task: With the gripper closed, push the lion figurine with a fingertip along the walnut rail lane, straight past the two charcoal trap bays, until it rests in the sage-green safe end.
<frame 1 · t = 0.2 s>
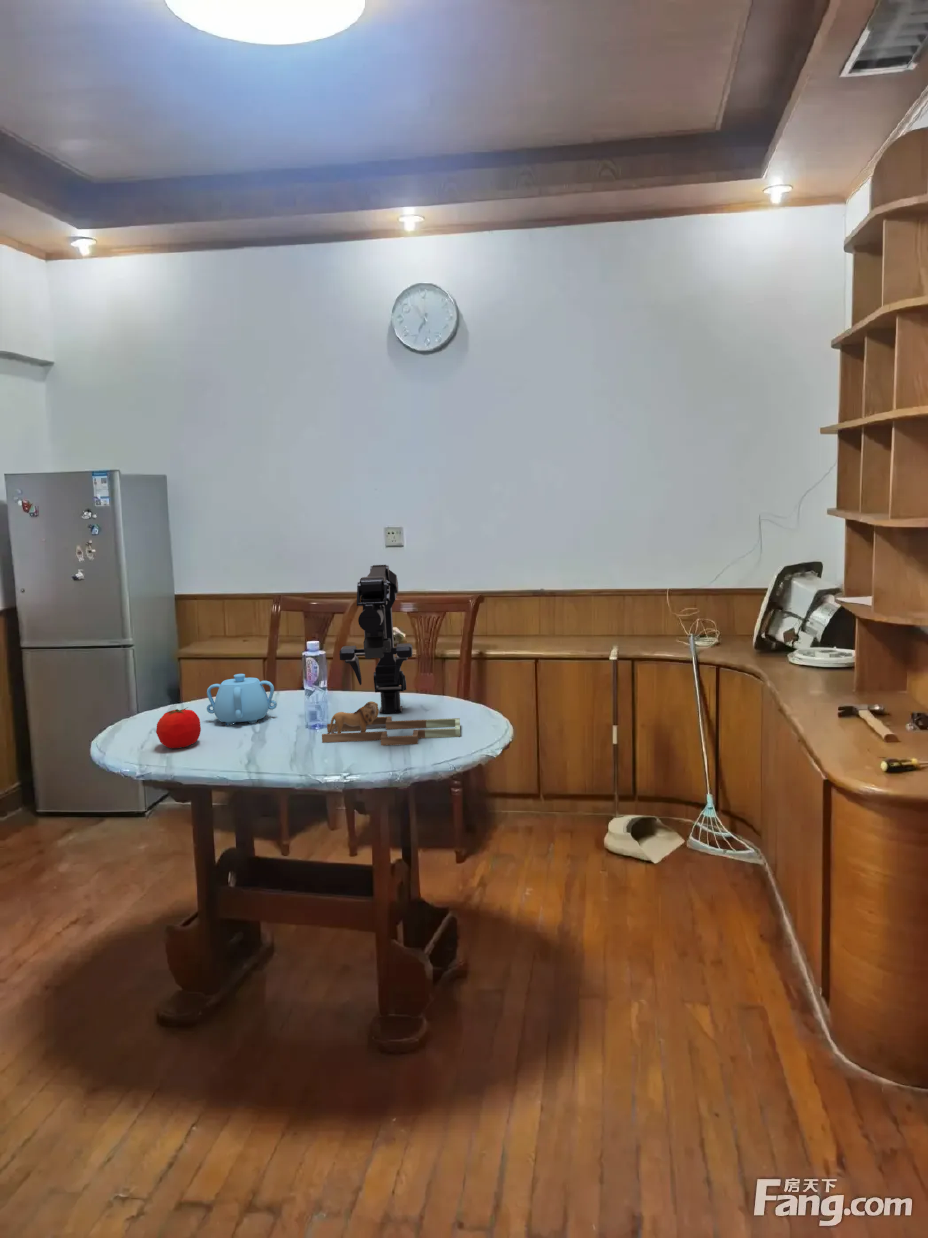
hand: (378, 684, 245), 14 cm above the table, fingers open, 9 cm apart
tomato: (180, 746, 247), on the table
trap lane: (384, 734, 250), on the table
lion figurine: (354, 736, 250), on the table
decorative pot: (242, 720, 272), on the table
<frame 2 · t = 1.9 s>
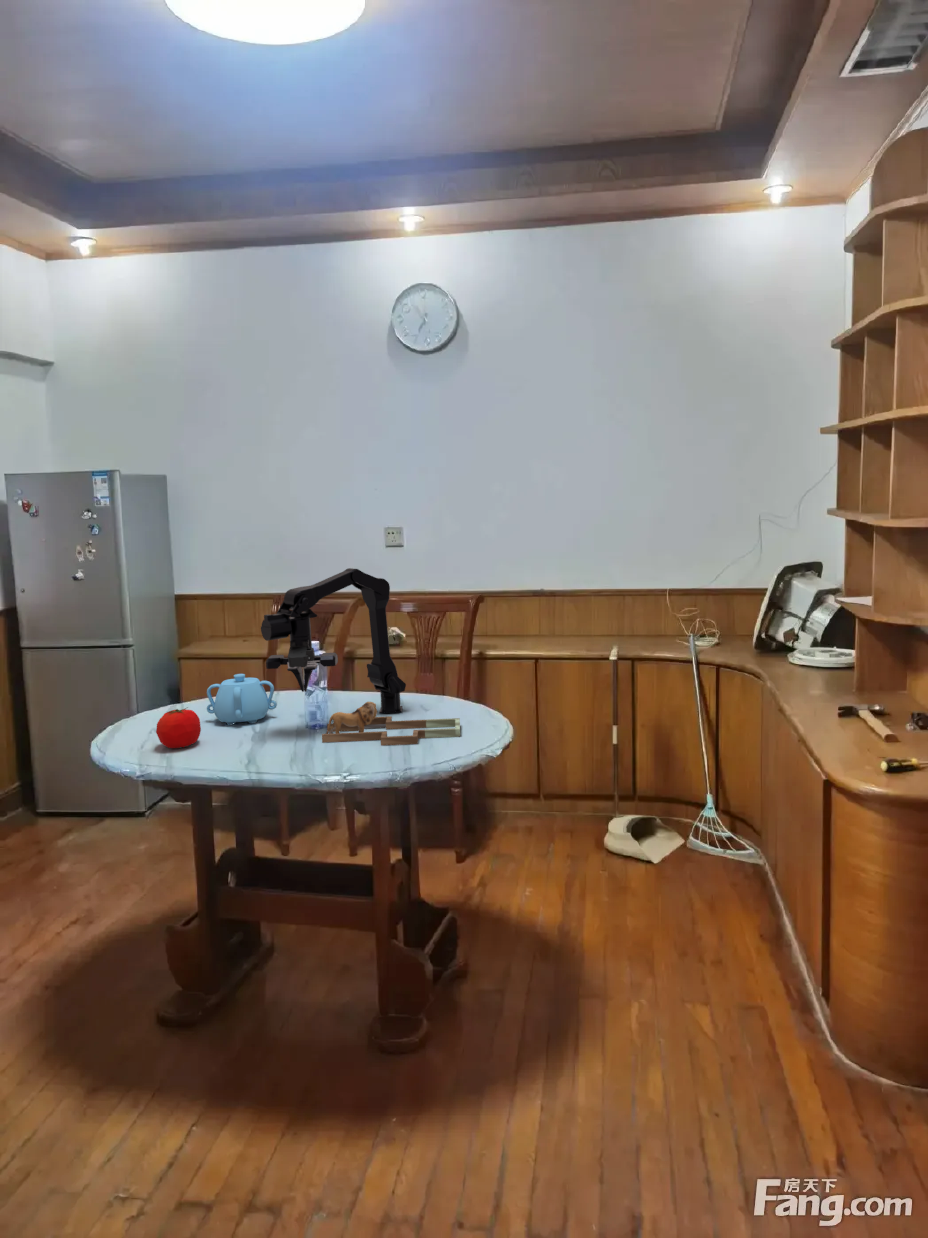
hand: (304, 691, 255), 11 cm above the table, fingers closed
nothing on the table moved.
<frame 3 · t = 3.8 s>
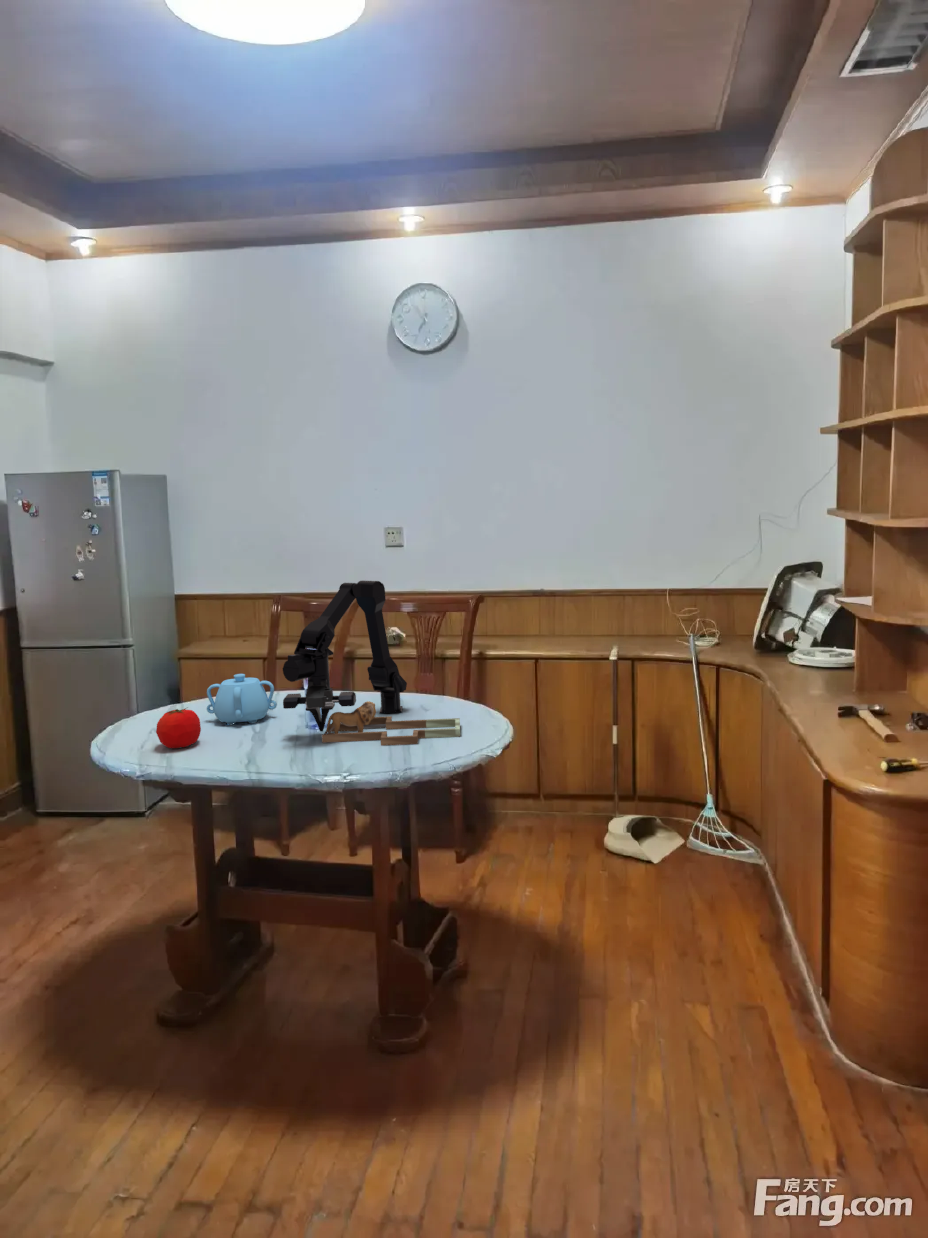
hand: (321, 731, 250), 1 cm above the table, fingers closed
lion figurine: (351, 736, 250), on the table, touching gripper
everything else where it was.
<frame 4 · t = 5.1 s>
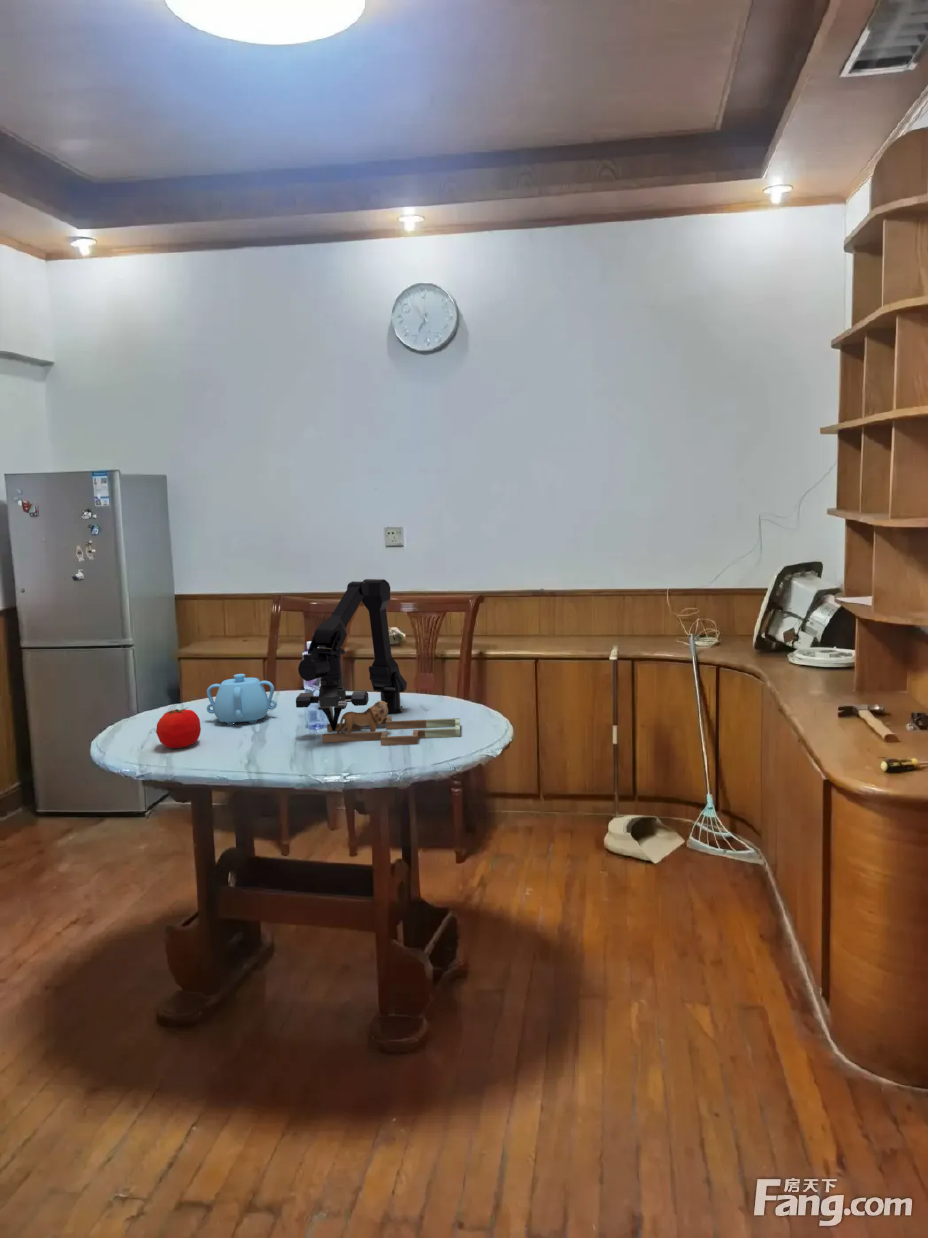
hand: (334, 730, 250), 2 cm above the table, fingers closed
lion figurine: (363, 735, 250), on the table, touching gripper
everything else where it was.
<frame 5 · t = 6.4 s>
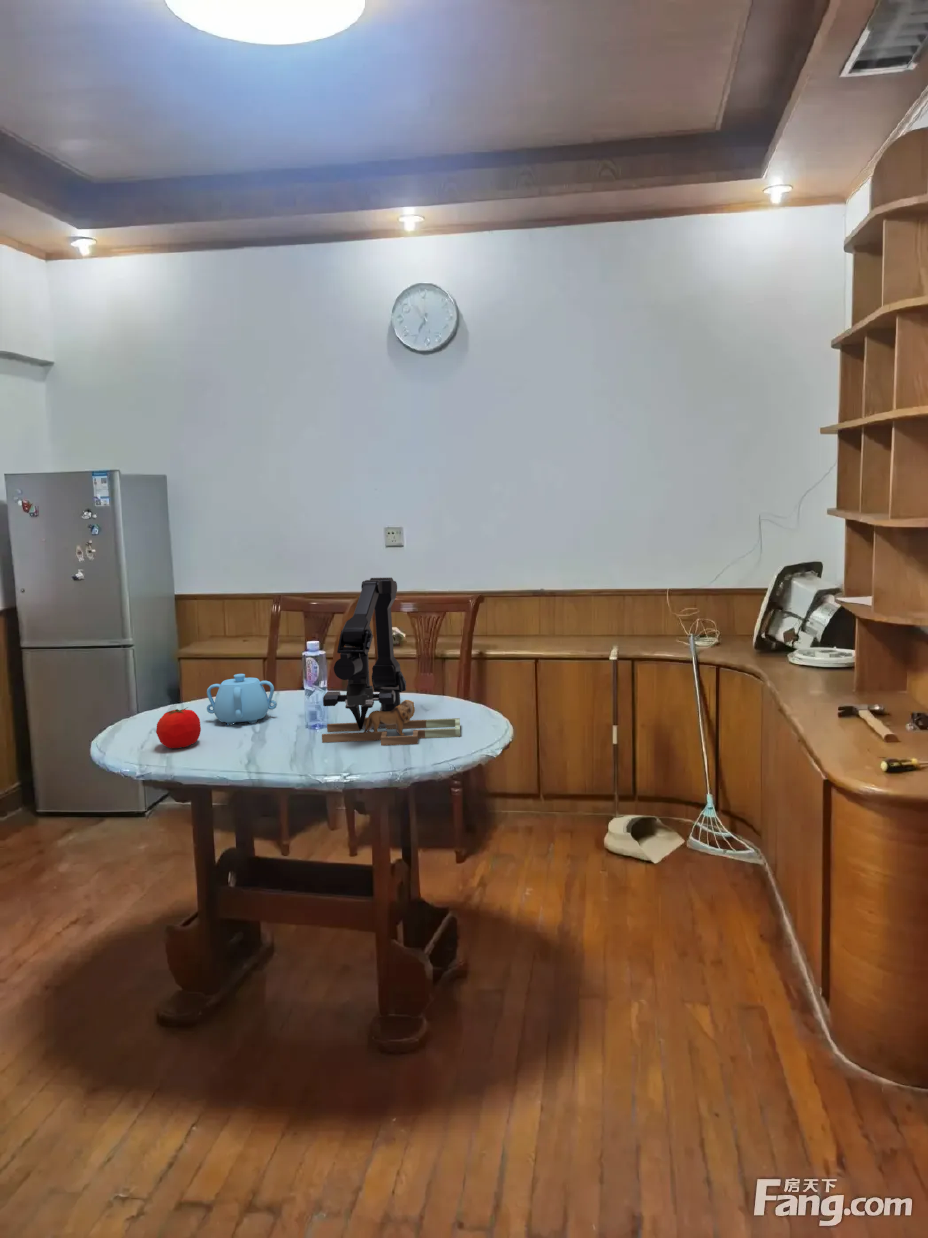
hand: (361, 729, 250), 2 cm above the table, fingers closed
lion figurine: (390, 734, 250), on the table, touching gripper
everything else where it was.
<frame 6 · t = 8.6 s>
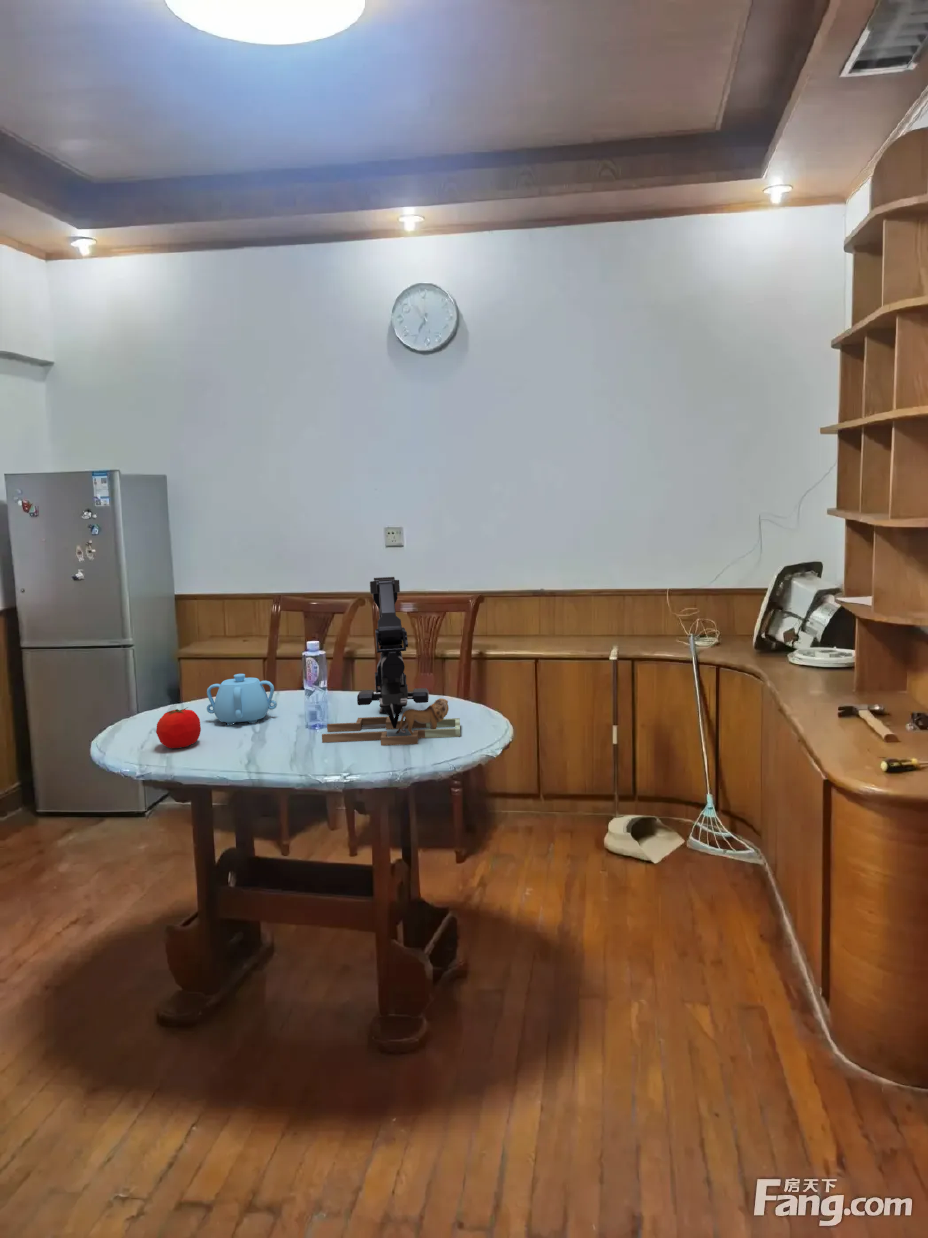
hand: (394, 728, 250), 2 cm above the table, fingers closed
lion figurine: (424, 733, 250), on the table, touching gripper
everything else where it was.
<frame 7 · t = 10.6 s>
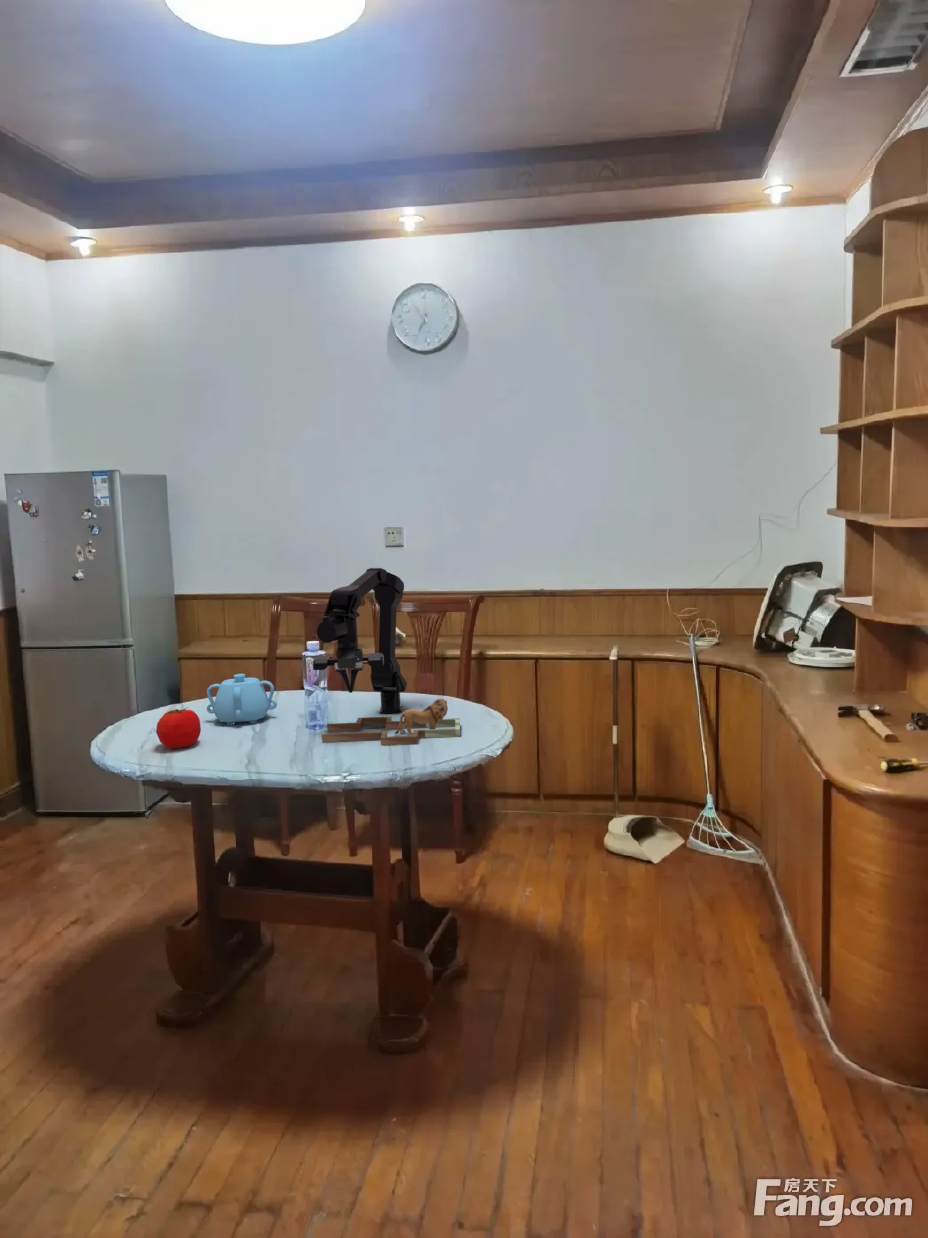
hand: (350, 692, 253), 11 cm above the table, fingers closed
lion figurine: (423, 733, 250), on the table
everything else where it was.
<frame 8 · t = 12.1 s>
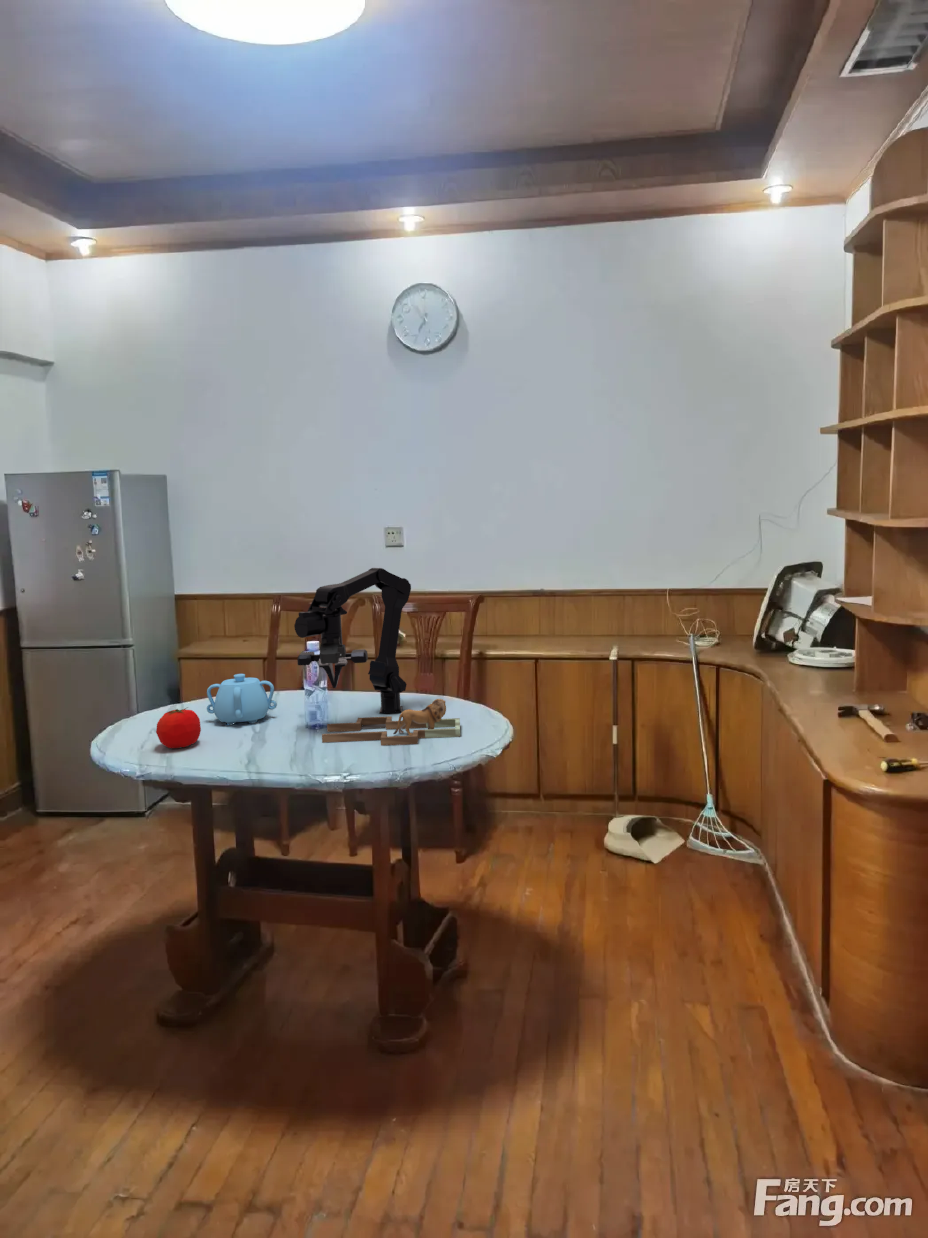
hand: (334, 687, 258), 11 cm above the table, fingers closed
nothing on the table moved.
at the end: lion figurine inside the target area (1.8 cm from its centre), on the table; lion figurine tilted 0°; lion figurine moved 18.0 cm from its start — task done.
